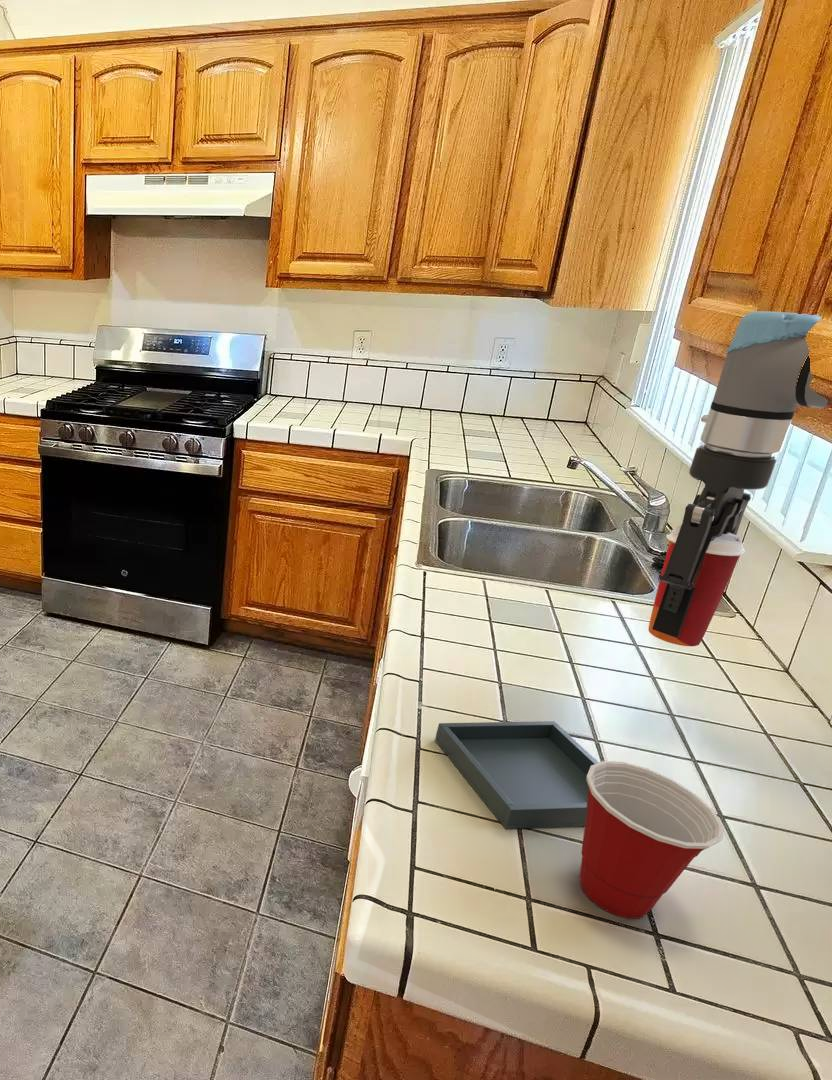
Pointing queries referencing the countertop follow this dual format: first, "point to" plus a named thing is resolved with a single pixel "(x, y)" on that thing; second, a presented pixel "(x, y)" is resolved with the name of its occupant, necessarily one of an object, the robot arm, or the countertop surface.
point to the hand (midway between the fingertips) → (676, 625)
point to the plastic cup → (639, 836)
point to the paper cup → (701, 587)
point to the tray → (522, 770)
